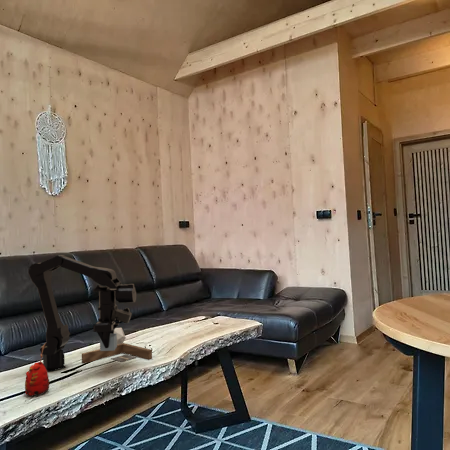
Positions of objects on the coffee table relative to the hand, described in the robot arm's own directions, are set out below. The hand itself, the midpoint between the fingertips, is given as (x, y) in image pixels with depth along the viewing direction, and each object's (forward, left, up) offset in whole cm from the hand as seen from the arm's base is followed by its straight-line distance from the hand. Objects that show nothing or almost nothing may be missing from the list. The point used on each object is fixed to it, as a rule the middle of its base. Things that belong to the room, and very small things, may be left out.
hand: (108, 346), depth 153 cm
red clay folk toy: (-28, -4, -8) cm, 29 cm away
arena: (+6, +4, -8) cm, 11 cm away
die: (+19, +24, -8) cm, 32 cm away
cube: (0, 0, -1) cm, 1 cm away
